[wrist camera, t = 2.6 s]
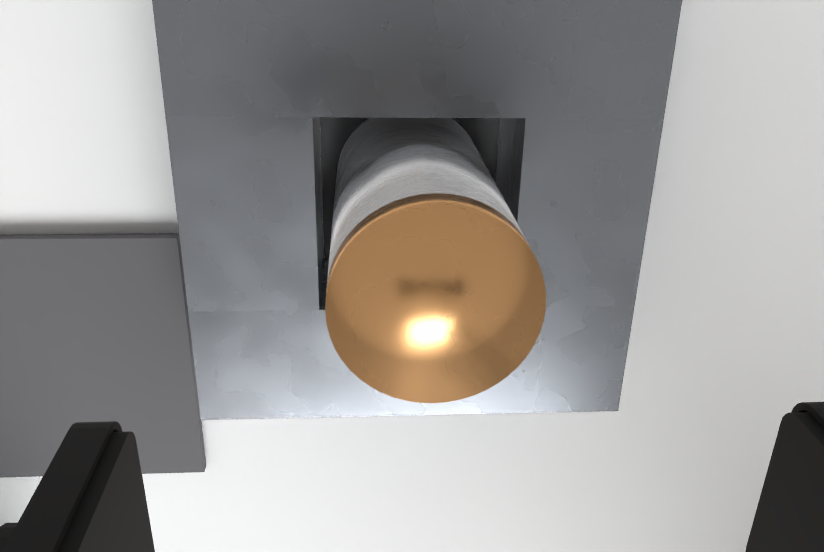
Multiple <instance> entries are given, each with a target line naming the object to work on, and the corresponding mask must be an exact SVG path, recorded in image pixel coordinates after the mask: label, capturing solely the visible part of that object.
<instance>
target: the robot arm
mask: <svg viewBox="0 0 824 552" xmlns="http://www.w3.org/2000/svg"><path fill="white" fill-rule="evenodd" d="M0 552H155V550H154V544H153V538H152V532H151V526H150V520H149V514H148V508H147V502H146V496H145V490H144V484H143V478H142V472H141V466H140V461H139V455H138V449H137V443H136V438H135V435H134V433H133V432H131V431H128V432H122V428H121V426H120V424H119V423H118V422H116V421H107V422H76V423H74V424H72V426H71V427H70V428H69V430H68V432H67V434H66V435H65V437H64V439H63V441H62V443H61V445H60V447H59V448H58V450H57V452H56V454H55V456H54V458H53V459H52V461H51V463H50V465H49V467H48V469H47V470H46V472H45V474H44V476H43V478H42V480H41V481H40V483H39V485H38V487H37V489H36V491H35V492H34V494H33V496H32V498H31V500H30V502H29V503H28V505H27V507H26V509H25V511H24V513H23V514H22V516H21V518H20V520H19V522H18V523H5V524H4V525H2V526H1V527H0ZM746 552H824V402H802V403H799V404H797V405H796V406H795V407H794V408H793V410H792V412H791V413H787V414H785V416H784V417H783V418H782V421H781V424H780V427H779V431H778V435H777V438H776V442H775V445H774V449H773V453H772V456H771V460H770V464H769V467H768V471H767V474H766V478H765V482H764V485H763V489H762V492H761V496H760V500H759V503H758V507H757V510H756V514H755V518H754V521H753V525H752V528H751V532H750V536H749V539H748V543H747V546H746Z"/></svg>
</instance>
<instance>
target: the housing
mask: <svg viewBox="0 0 824 552" xmlns="http://www.w3.org/2000/svg"><path fill="white" fill-rule="evenodd" d="M152 2H153V11H154V20H155V28H156V37H157V46H158V54H159V63H160V72H161V80H162V89H163V98H164V106H165V115H166V124H167V132H168V141H169V149H170V158H171V167H172V175H173V184H174V193H175V201H176V210H177V219H178V227H179V236H180V245H181V253H182V262H183V271H184V279H185V288H186V297H187V305H188V314H189V323H190V331H191V340H192V349H193V357H194V366H195V375H196V383H197V392H198V400H199V409H200V418H201V420H219V419H265V418H312V417H358V416H404V415H450V414H496V413H542V412H588V411H618V407H619V401H620V395H621V388H622V382H623V375H624V369H625V363H626V356H627V350H628V343H629V337H630V331H631V324H632V318H633V311H634V305H635V299H636V292H637V286H638V279H639V273H640V267H641V260H642V254H643V247H644V241H645V235H646V228H647V222H648V215H649V209H650V203H651V196H652V190H653V183H654V177H655V171H656V164H657V158H658V151H659V145H660V139H661V132H662V126H663V119H664V113H665V107H666V100H667V94H668V87H669V81H670V75H671V68H672V62H673V55H674V49H675V43H676V36H677V30H678V23H679V17H680V11H681V4H682V0H152ZM320 117H346V118H500V122H499V137H498V152H497V167H496V182H495V183H496V185H497V187H498V189H499V191H500V192H501V194H502V196H503V198H504V200H505V202H506V204H507V205H508V207H509V209H510V211H511V213H512V215H513V217H514V218H515V220H516V222H517V224H518V226H519V228H520V229H521V231H522V233H523V235H524V237H525V239H526V241H527V242H528V244H529V246H530V248H531V250H532V252H533V254H534V255H535V257H536V259H537V262H538V264H539V266H540V268H541V271H542V275H543V278H544V282H545V289H546V311H545V317H544V322H543V325H542V328H541V331H540V334H539V336H538V338H537V340H536V342H535V345H534V346H533V348H532V349H531V351H530V352H529V354H528V356H527V357H526V358H525V359H524V360H523V362H522V363H521V364H520V365H519V366H518V367H517V368H516V369H515V370H514V371H513V372H512V373H511V374H510V375H509V376H507V377H506V378H505V379H503V380H502V381H501V382H499V383H498V384H496V385H494V386H493V387H491V388H489V389H487V390H486V391H483V392H481V393H479V394H476V395H474V396H471V397H468V398H464V399H461V400H456V401H451V402H443V403H418V402H411V401H405V400H401V399H398V398H394V397H391V396H389V395H386V394H384V393H381V392H379V391H377V390H376V389H374V388H372V387H370V386H369V385H367V384H366V383H364V382H363V381H362V380H360V379H359V378H358V377H357V376H356V375H355V374H354V373H352V372H351V371H350V370H349V368H348V367H347V366H346V365H345V364H344V362H343V361H342V360H341V358H340V357H339V355H338V353H337V352H336V350H335V348H334V346H333V343H332V341H331V339H330V336H329V332H328V328H327V324H326V315H325V304H326V289H327V278H328V267H329V259H324V229H323V197H322V165H321V133H320Z"/></svg>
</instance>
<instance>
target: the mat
mask: <svg viewBox="0 0 824 552" xmlns="http://www.w3.org/2000/svg"><path fill="white" fill-rule="evenodd" d="M107 421H116V422H118V423H119V424H120V426H121V428H122V432H128V431H131V432H133V433H134V435H135V438H136V443H137V449H138V455H139V461H140V466H141V472H142V474H146V473H185V472H204V471H205V468H206V460H205V452H204V443H203V434H202V426H201V418H200V409H199V400H198V392H197V383H196V375H195V366H194V357H193V349H192V340H191V331H190V323H189V314H188V305H187V297H186V288H185V279H184V271H183V262H182V253H181V245H180V236H179V234H79V235H0V477H32V476H44V474H45V472H46V470H47V469H48V467H49V465H50V463H51V461H52V459H53V458H54V456H55V454H56V452H57V450H58V448H59V447H60V445H61V443H62V441H63V439H64V437H65V435H66V434H67V432H68V430H69V428H70V427H71V426H72V424H74V423H76V422H107Z"/></svg>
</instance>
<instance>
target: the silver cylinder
mask: <svg viewBox="0 0 824 552" xmlns="http://www.w3.org/2000/svg"><path fill="white" fill-rule="evenodd" d="M545 311H546V289H545V282H544V278H543V275H542V271H541V268H540V266H539V264H538V262H537V259H536V257H535V255H534V254H533V252H532V250H531V248H530V246H529V244H528V242H527V241H526V239H525V237H524V235H523V233H522V231H521V229H520V228H519V226H518V224H517V222H516V220H515V218H514V217H513V215H512V213H511V211H510V209H509V207H508V205H507V204H506V202H505V200H504V198H503V196H502V194H501V192H500V191H499V189H498V187H497V185H496V183H495V181H494V179H493V178H492V176H491V174H490V172H489V170H488V168H487V167H486V165H485V163H484V161H483V159H482V157H481V155H480V154H479V152H478V150H477V148H476V146H475V144H474V142H473V141H472V139H471V138H470V136H469V135H468V133H467V132H466V131H465V130H464V128H463V127H462V126H460V125H459V124H458V123H457V122H456V121H455V120H453V119H452V118H368V119H367V120H365V121H364V122H363V123H362V124H361V125H359V126H358V127H357V128H356V129H355V131H354V132H353V133H352V134H351V135H350V137H349V138H348V140H347V141H346V143H345V145H344V147H343V149H342V151H341V154H340V157H339V161H338V167H337V175H336V187H335V198H334V209H333V221H332V232H331V244H330V255H329V267H328V278H327V289H326V304H325V315H326V324H327V328H328V332H329V336H330V339H331V341H332V343H333V346H334V348H335V350H336V352H337V353H338V355H339V357H340V358H341V360H342V361H343V362H344V364H345V365H346V366H347V367H348V368H349V370H350V371H351V372H352V373H354V374H355V375H356V376H357V377H358V378H359V379H360V380H362V381H363V382H364V383H366V384H367V385H369V386H370V387H372V388H374V389H376V390H377V391H379V392H381V393H384V394H386V395H389V396H391V397H394V398H398V399H401V400H405V401H411V402H418V403H443V402H451V401H456V400H461V399H464V398H468V397H471V396H474V395H476V394H479V393H481V392H483V391H486V390H487V389H489V388H491V387H493V386H494V385H496V384H498V383H499V382H501V381H502V380H503V379H505V378H506V377H507V376H509V375H510V374H511V373H512V372H513V371H514V370H515V369H516V368H517V367H518V366H519V365H520V364H521V363H522V362H523V360H524V359H525V358H526V357H527V356H528V354H529V352H530V351H531V349H532V348H533V346H534V345H535V342H536V340H537V338H538V336H539V334H540V331H541V328H542V325H543V322H544V317H545Z"/></svg>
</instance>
